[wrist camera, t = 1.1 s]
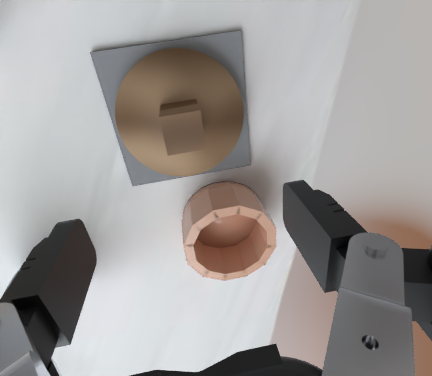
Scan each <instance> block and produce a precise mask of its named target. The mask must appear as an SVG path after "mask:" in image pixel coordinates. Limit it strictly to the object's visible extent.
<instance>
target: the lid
mask: <svg viewBox="0 0 432 376" xmlns="http://www.w3.org/2000/svg"><path fill="white" fill-rule="evenodd" d="M115 119H116V125H117V129H118V132H119V134H120V137H121V139H122V141H123V143H124V145H125V146H126V148H127V149H128V150H129V152H130V153H131V154H132V155H133V156H134V157H135V158H136V159H137V160H138V161H139V162H141V163H142V164H143V165H145V166H146V167H148V168H150V169H152V170H154V171H156V172H159V173H162V174H166V175H170V176H191V175H196V174H200V173H203V172H205V171H208V170H210V169H212V168H213V167H215V166H216V165H218V164H219V163H221V162H222V161H223V160H224V159H225V158H226V157H227V156H228V155H229V154H230V152H231V151H232V150H233V148H234V147H235V145H236V143H237V141H238V139H239V136H240V134H241V130H242V126H243V119H244V108H243V101H242V97H241V94H240V91H239V89H238V86H237V84H236V83H235V81H234V79H233V77H232V76H231V75H230V74H229V72H228V71H227V70H226V69H225V68H224V67H223V66H222V65H221V64H220V63H218V62H217V61H216V60H214V59H213V58H211V57H209V56H208V55H206V54H204V53H201V52H199V51H196V50H192V49H187V48H167V49H163V50H159V51H156V52H154V53H151V54H149V55H148V56H146V57H144V58H143V59H141V60H140V61H139V62H138V63H136V64H135V65H134V66H133V67H132V68H131V69H130V70H129V72H128V73H127V74H126V76H125V77H124V79H123V81H122V83H121V85H120V87H119V90H118V93H117V96H116V102H115Z"/></svg>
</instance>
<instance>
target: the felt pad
mask: <svg viewBox="0 0 432 376" xmlns="http://www.w3.org/2000/svg"><path fill="white" fill-rule="evenodd" d="M167 48H187V49H192V50H196V51H199V52H201V53H204V54H206V55H208V56H209V57H211V58H213V59H214V60H216V61H217V62H218V63H220V64H221V65H222V66H223V67H224V68H225V69H226V70H227V71H228V72H229V74H230V75H231V76H232V77H233V79H234V81H235V83H236V84H237V86H238V89H239V91H240V94H241V97H242V101H243V108H244V119H243V126H242V130H241V134H240V136H239V139H238V141H237V143H236V145H235V147H234V148H233V150H232V151H231V152H230V154H229V155H228V156H227V157H226V158H225V159H224V160H223V161H222V162H221V163H219V164H218V165H216V166H215V167H213V168H212V169H210V170H208V171H205V172H203V173H200V174H204V173H209V172H215V171H221V170H226V169H232V168H237V167H243V166H248V165H250V151H249V136H248V122H247V107H246V93H245V78H244V64H243V49H242V34H241V31H234V32H227V33H220V34H213V35H206V36H199V37H192V38H185V39H179V40H172V41H165V42H158V43H151V44H144V45H137V46H130V47H123V48H117V49H110V50H103V51H96V52H90V54H91V57H92V60H93V63H94V66H95V70H96V73H97V76H98V79H99V82H100V85H101V88H102V92H103V95H104V98H105V101H106V104H107V107H108V111H109V114H110V117H111V120H112V123H113V126H114V129H115V133H116V136H117V139H118V142H119V145H120V148H121V151H122V155H123V158H124V161H125V164H126V167H127V170H128V174H129V177H130V180H131V183H132V186H137V185H142V184H148V183H153V182H159V181H165V180H170V179H176V178H181V177H187V176H170V175H166V174H162V173H159V172H156V171H154V170H152V169H150V168H148V167H146V166H145V165H143V164H142V163H141V162H139V161H138V160H137V159H136V158H135V157H134V156H133V155H132V154H131V153H130V152H129V150H128V149H127V148H126V146H125V145H124V143H123V141H122V139H121V137H120V134H119V132H118V129H117V125H116V119H115V102H116V96H117V93H118V90H119V87H120V85H121V83H122V81H123V79H124V77H125V76H126V74H127V73H128V72H129V70H130V69H131V68H132V67H133V66H134V65H135V64H136V63H138V62H139V61H140V60H141V59H143V58H144V57H146V56H148V55H149V54H151V53H154V52H156V51H159V50H163V49H167ZM196 175H198V174H196ZM191 176H193V175H191Z"/></svg>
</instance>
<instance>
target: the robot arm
mask: <svg viewBox="0 0 432 376" xmlns="http://www.w3.org/2000/svg"><path fill="white" fill-rule="evenodd" d="M283 220H284V224H285V227H286V229H287V231H288V233H289V235H290V236H291V238H292V239H293V241H294V243H295V244H296V246H297V248H298V249H299V251H300V253H301V254H302V256H303V258H304V259H305V261H306V263H307V264H308V266H309V267H310V269H311V271H312V273H313V274H314V276H315V278H316V279H317V281H318V282H319V284H320V286H321V287H322V289H323V291H324V292H325V293H326V292H331V291H337V292H338V297H337V302H336V306H335V312H334V317H333V322H332V327H331V331H330V337H329V341H328V347H327V352H326V356H325V361H324V367H323V370H322V369H320V368H318V367H316V366H314V365H312V364H310V363H308V362H305V361H301V360H298V359H295V358H290V357H281V356H280V354H279V351H278V348H277V346H276V344H272V345H268V346H263V347H259V348H254V349H249V350H245V351H240V352H237V353H235V354H233V355H231V356H229V357H227V358H225V359H224V360H222V361H220V362H218V363H216V364H214V365H212V366H210V367H208V368H206V369H204V370H202V371H200V372H182V371H166V370H153V371H149V372H144V373H140V374H135V375H131V376H415V364H414V347H413V346H414V344H413V325H412V321H416V322H417V323H418V324H419V325H420V327H421V328H422V329H423V330H424V332H425V333H426V334H427V335H428V337H429V338H430V339H431V341H432V246H431V249H430V250H429V249H408V248H401V247H400V246H399V245H398V244H397V243H396V242H395V241H393V240H392V239H390V238H388V237H386V236H383V235H380V234H376V233H368V232H367V231H366V230H364V228H363V227H362V226H361V225H360V224H358V223H357V221H356V220H355V219H354V218H352V217H351V216H350V215H349V214H348V213H347V212H346V211H344V209H343V208H342V207H341V206H340V205H339V204H338V203H337V202H336V201H335V200H334V199H333V198H332V197H331V196H330V195H329V194H326V193H324V192H322V191H320V190H313V189H312V188H311V187H310V186H309V185H308V184H307V183H306V182H305V181H304V180H299V181H294V182H288V183H285V184H284V186H283ZM96 260H97V258H96V251H95V248H94V246H93V244H92V242H91V239H90V237H89V235H88V233H87V230H86V228H85V226H84V224H83V222H82V221H81V220H80V219H75V220H70V221H64V222H59V223H57V224H56V225H55V227H54V229H53V230H52V232H51V234H50V235H49V237H48V238H44V239H43V240H42V241H41V242H40V243H39V244H38V245H36V246H35V247H34V248H33V249H32V251H31V252H30V254H29V256H28V257H27V259H26V262H24V263H23V265H22V266H21V268H20V271H18V273H17V274H16V276H15V277H14V279H13V280H12V282H11V284H10V285H9V287H8V288H7V290H6V291H5V293H4V294H3V296H2V298H1V299H0V376H62V375H61V373H60V371H59V369H58V367H57V365H56V363H55V361H54V360H53V358H52V355H53V352H54V349H55V348H56V347H61V346H66V345H70V344H71V341H72V338H73V335H74V332H75V329H76V325H77V322H78V319H79V316H80V313H81V310H82V307H83V304H84V301H85V297H86V294H87V291H88V288H89V285H90V282H91V279H92V276H93V273H94V270H95V266H96Z"/></svg>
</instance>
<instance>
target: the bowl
mask: <svg viewBox="0 0 432 376" xmlns="http://www.w3.org/2000/svg"><path fill="white" fill-rule="evenodd" d="M182 233H183V246H184V250H185V255H186V259H187V263H188V265H189V266H191V267H192V268H193V269H194V270H195V271H197V272H198V273H199V274H200V275H202V276H203V277H207V278H213V279H218V280H223V281H225V280H230V279H235V278H240V277H245V276H248V275H249V274H251V273H252V272H254V271H255V270H257V269H258V268H260V267H261V266H263V265H264V264H266V262H267V261H268V259H269V257H270V256H271V254H272V253H273V251H274V249H275V248H276V227H275V225H274V223H273V222H272V220H271V218H270V216H269V214H268V213H267V211H266V209H265V207H264V205H263V204H262V203H261V202H260V201H259V199H258V197H257V196H256V194H255V193H254V192H253V191H252V190H251V189H249V188H248V187H246V186H244V185H242V184H240V183H236V182H217V183H213V184H210V185H207V186H205V187H203V188H202V189H200V190H199V191H197V192H196V193H195V194H194V195H193V196H192V197H191V198H190V199H189V201H188V202H187V204H186V206H185V209H184V212H183V219H182Z"/></svg>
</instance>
